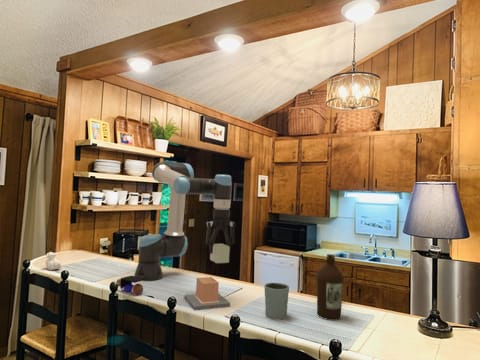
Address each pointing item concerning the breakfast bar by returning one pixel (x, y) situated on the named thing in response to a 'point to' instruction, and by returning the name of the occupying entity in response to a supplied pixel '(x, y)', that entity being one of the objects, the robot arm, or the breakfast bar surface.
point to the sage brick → (221, 253)
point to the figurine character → (127, 284)
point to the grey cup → (276, 300)
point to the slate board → (198, 305)
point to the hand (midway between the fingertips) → (219, 260)
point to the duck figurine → (52, 262)
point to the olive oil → (329, 290)
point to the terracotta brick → (207, 289)
